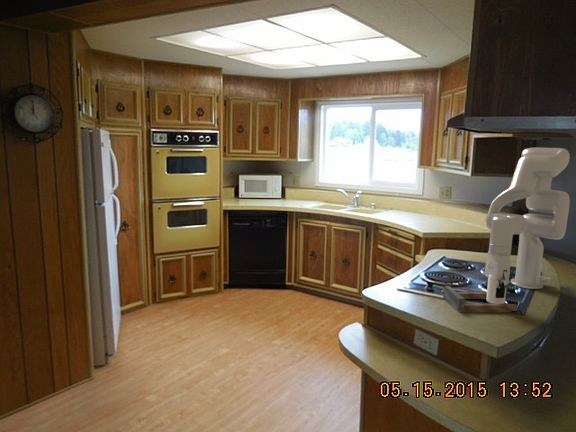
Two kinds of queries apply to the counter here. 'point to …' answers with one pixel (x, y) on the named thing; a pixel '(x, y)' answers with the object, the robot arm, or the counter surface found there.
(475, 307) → the guide track
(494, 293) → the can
